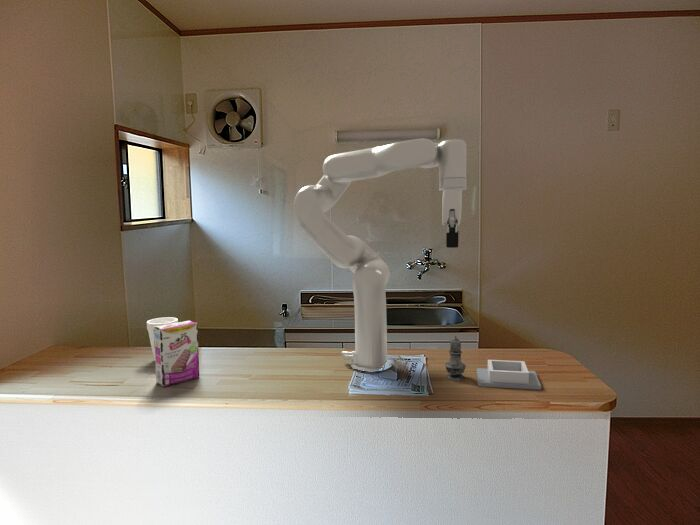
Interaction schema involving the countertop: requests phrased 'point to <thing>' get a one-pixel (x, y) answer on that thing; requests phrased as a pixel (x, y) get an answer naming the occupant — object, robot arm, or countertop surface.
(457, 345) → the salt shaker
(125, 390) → the countertop surface
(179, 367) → the candy bar box
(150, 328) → the foam cup
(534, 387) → the holder
